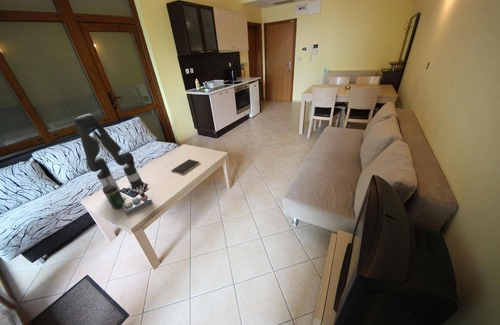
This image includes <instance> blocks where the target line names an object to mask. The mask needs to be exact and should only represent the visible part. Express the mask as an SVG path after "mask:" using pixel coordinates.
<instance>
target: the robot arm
mask: <svg viewBox="0 0 500 325" xmlns="http://www.w3.org/2000/svg"><path fill="white" fill-rule="evenodd" d="M73 122H74V125H75V128H76V130H77V133H78V135H79V137H80V141H81V143H82V144H81V145H82V147H83V152H84V153H85V154H84V155H85V157H86V164H87V167H88V169H89V170H90V171H91V172H94V173H97V175H96V177H97V179H98V180H99V182H100V183H101V186H102V187H105V186H107V185H114V186H116V187H117V189H118V191H119V193H120V191H121V189H120V187H119V185H118V183H117V181H116V179H115V178H114V176H113V175H112V173H111V171H110V168H109V166H108V165H107V162H106V161H105V159H104V158H103V157H101V156H99V157H98V155H99V154H100V151H101V146H100V142H99V140H98V139H97V138H95V137H93V136H91V135H90V134H89V132H88V131H90V130H92V129H96V130H97V131H98V133H99V136H100V141H101V145H102V146H103V147H104V148H105V149H106V150H107V151H108V152H109V153H110V155H111V156H112V158H113V159H114V162H115V163H116V164H117V166H121V167H122V166H123V172H124V173H125V175H126V178H127V180H128V182H129V184H130V185H131V189H129V192H130V194H135V195H138V196H140V195H141V197H143V196H144V197H145V194H144V193H145V192H146V190H147V188H148V186H149V184H148V182H144V181H143V180H142V178H141V176H140V174H139V171H137V169H136V166H135V158H134V156H133V154H132V153H131V152H129V151H125V152H123V153H121V154H119V153H120V152H121V151H122V147H121V146H120V145H119V144H118V143H117V142H116V141H115V139H113V138H112V136H110V134H109V132H108V131H106V128H105V127H104V126H103V125H102V124H101V122H100V121H99V120H98V118H96V117H95V115H93V114H92V113H87V114H82V115H80V116H78V117H75V118H74V119H73ZM98 171H99V172H98Z"/></svg>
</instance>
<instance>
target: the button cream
mask: <svg viewBox="0 0 500 325" xmlns="http://www.w3.org/2000/svg"><path fill="white" fill-rule="evenodd" d="M124 204H125V206H126V208H128V207H130V206H132V204H131V202H130V201H129V200H126V201H125V203H124Z"/></svg>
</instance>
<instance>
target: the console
mask: <svg viewBox="0 0 500 325" xmlns="http://www.w3.org/2000/svg"><path fill="white" fill-rule="evenodd" d="M144 194H145V195H146V196H147V199H145V200H143V201H142V199H141V195H140V194H139V195H138V196H137V197H138V199H139V201H140V202H138V203H136V204H134V202H133V201H132V199H133V198H132V199H130V200H128V201H130V202H131V204H132V206H130V207H128V208H126V206H125V204H124V203H123V204H122V205H123V207H122V208H123V209H124V210H123V211H124V212H125V214H126V216H127V217H128V216H129V215H131V214H134V213H135V212H138V211H140V210H143V209H144V208H146V207H148V206H150V205H152V204H153V201H152V199H151V197H150V196H149V194H148V192H146V191H145V192H144Z"/></svg>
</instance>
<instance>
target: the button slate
mask: <svg viewBox="0 0 500 325" xmlns="http://www.w3.org/2000/svg"><path fill="white" fill-rule="evenodd" d="M132 201H133V202H134V204H136V203H138V202H140V201H139V199H138V196H136V197H133V198H132Z"/></svg>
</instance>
